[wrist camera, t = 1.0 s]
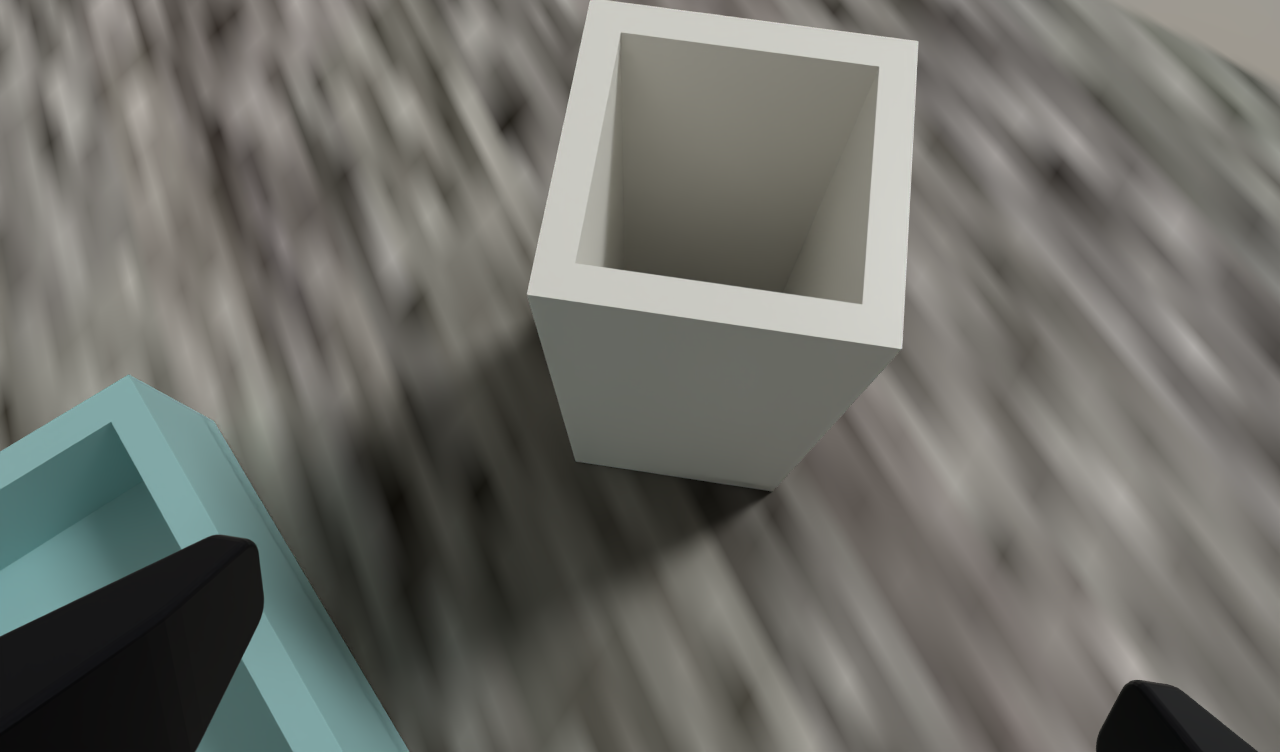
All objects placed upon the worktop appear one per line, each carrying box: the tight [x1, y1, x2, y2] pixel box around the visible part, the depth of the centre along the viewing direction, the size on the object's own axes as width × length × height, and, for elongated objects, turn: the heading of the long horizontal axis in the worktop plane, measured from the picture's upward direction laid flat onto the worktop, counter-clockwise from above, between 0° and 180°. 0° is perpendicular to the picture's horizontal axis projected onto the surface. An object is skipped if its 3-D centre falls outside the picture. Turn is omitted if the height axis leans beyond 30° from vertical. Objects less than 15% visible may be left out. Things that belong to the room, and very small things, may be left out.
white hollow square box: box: [527, 0, 918, 492], centre depth 18 cm, size 5×5×11 cm
